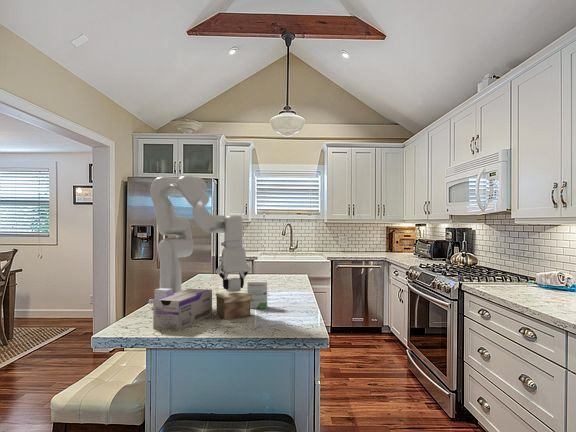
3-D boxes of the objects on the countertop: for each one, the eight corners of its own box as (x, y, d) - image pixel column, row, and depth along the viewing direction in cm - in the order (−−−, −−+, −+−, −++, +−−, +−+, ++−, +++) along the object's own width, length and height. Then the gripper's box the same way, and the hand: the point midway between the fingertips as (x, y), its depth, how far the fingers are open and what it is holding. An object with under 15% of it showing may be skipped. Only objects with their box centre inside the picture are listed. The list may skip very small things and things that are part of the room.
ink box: (267, 306, 177) (267, 280, 177) (265, 308, 172) (265, 282, 172) (249, 306, 178) (249, 280, 178) (247, 308, 173) (247, 282, 173)
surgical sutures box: (179, 331, 136) (179, 301, 136) (153, 329, 139) (153, 299, 139) (212, 315, 160) (212, 289, 160) (189, 313, 163) (189, 288, 163)
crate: (225, 319, 152) (225, 299, 152) (216, 314, 161) (216, 295, 161) (250, 316, 158) (250, 296, 158) (240, 311, 166) (240, 293, 166)
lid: (225, 302, 151) (224, 296, 151) (215, 299, 161) (215, 293, 161) (252, 300, 157) (252, 294, 157) (241, 296, 166) (241, 291, 167)
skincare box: (173, 318, 154) (173, 288, 154) (166, 321, 150) (166, 290, 150) (160, 317, 156) (160, 287, 156) (153, 319, 152) (153, 289, 152)
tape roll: (229, 292, 155) (229, 279, 155) (224, 290, 160) (224, 278, 161) (242, 291, 158) (242, 278, 158) (237, 288, 163) (237, 277, 163)
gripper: (216, 246, 152) (216, 291, 152) (256, 244, 161) (256, 287, 160) (210, 245, 159) (210, 288, 158) (248, 244, 167) (248, 285, 167)
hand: (233, 287), depth 159 cm, fingers closed on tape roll, 6 cm apart
